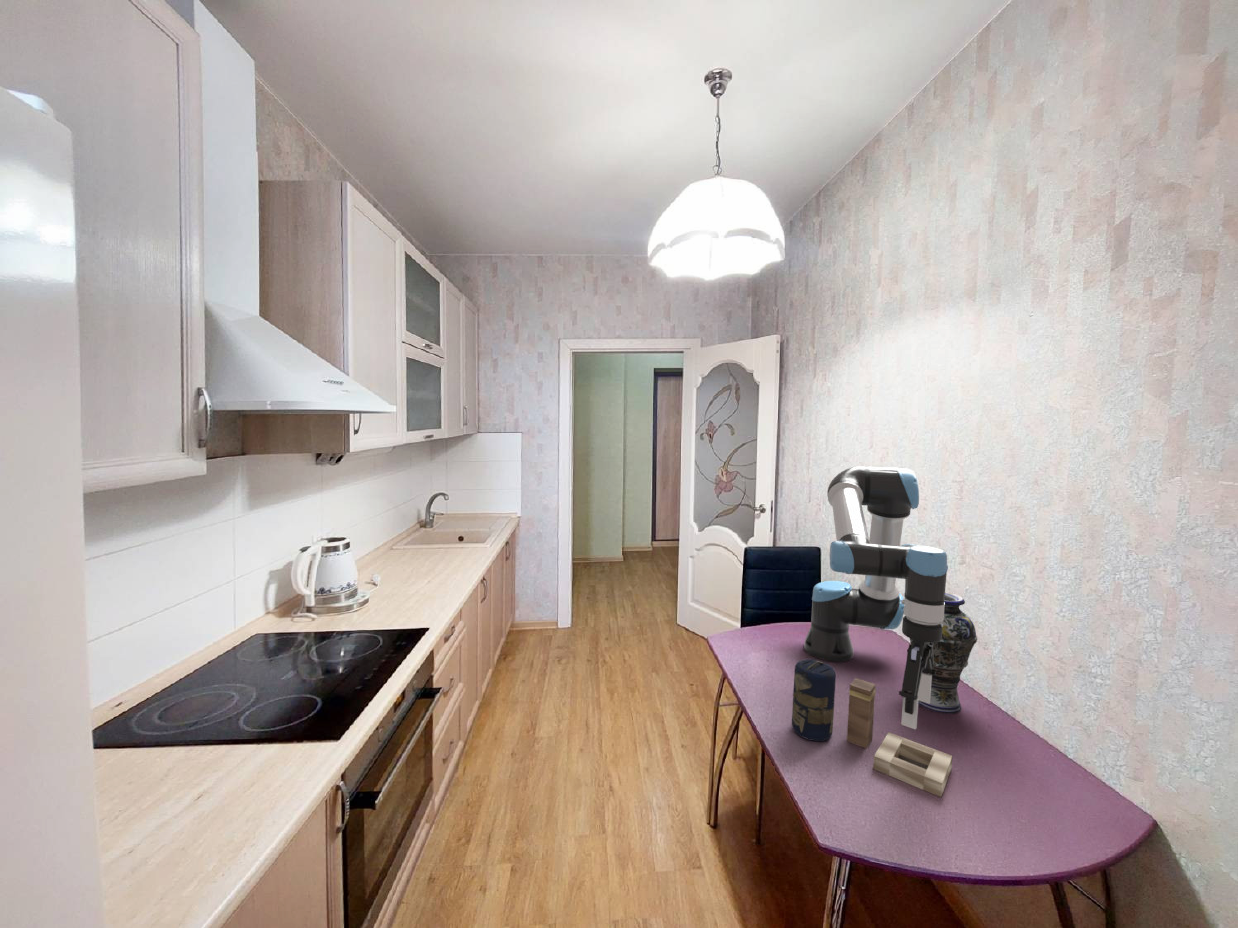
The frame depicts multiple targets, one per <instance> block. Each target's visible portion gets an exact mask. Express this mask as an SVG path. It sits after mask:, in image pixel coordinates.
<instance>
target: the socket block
mask: <svg viewBox="0 0 1238 928" xmlns="http://www.w3.org/2000/svg"><path fill="white" fill-rule="evenodd" d="M952 765H953V755H951V754H948V753H945V752H943V751H940V750H937V749H934V748H932V747H929V746H927V745H923V744H922V743H919V742H916V741H913V740H910V739H908V738H905V737H902V736H901V735H897V734H894V733H891V732H887V734H886V736H885V737H884V739H883V740H882V742H881V744H880V746H879V747H878V749H877V750H876V752H875V754H874V755H873V765H872V766H873V767H872V769H873V770H874V771H876V772H877V771H878V772H880V773H882V774H884V775H887V776H888V777H889V776H890V777H892V778H893V779H896V780H899V781H901V782H904V783H906V784H908V785H910V786H913V787H915V788H918V789H920V790H922V791H925V792H928V793H930V794H931V795H932V794H933V795H935V796H937V797H940V798H942V796H943V794H944V791H945V787H946V785H947V782H948V780H949V776H950V774H951V771H952V769H953V768H952Z"/></svg>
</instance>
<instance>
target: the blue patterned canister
mask: <svg viewBox="0 0 1238 928" xmlns="http://www.w3.org/2000/svg"><path fill="white" fill-rule="evenodd" d="M836 673H837V672H836V670H835V668H833V666H831V665H829V664H828V663H826V662H824V661H821V660H817V659H808V658H807V659H800V660H799V661H797V662H796V664H795V665H794V674H793V675H794V676H793V691H792V711H791V727H792V729H793V731H794V732H795V734H798V736H800V737H802V738H804V739H805V740H809V741H814V742H823V741H827V740H829V739H830V738H832V737H831V736H832V735H833V729H834V716H835V715H834V711H835V698H836V695H835V693H836V682H837V674H836Z"/></svg>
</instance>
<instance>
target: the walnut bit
mask: <svg viewBox="0 0 1238 928" xmlns="http://www.w3.org/2000/svg"><path fill="white" fill-rule="evenodd" d="M876 685H877V684H875V683H872V682H869V681H867V680H863V679H861V678H857V677H856V678H855V679H853V680H852V682H851V683H850V684H849V692H848V695H849V696H848V712H847V713H848V714H847V729H846V730H847V731H846V742H849V743H851V744H853V745H856V746H858V747H861V748H863V747H864V748H863V749H868V748H869V746H870V744H871V743H872V742H873V732H874V717H875V715H874V714H875V700H876V691H877V689H876Z"/></svg>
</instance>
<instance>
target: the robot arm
mask: <svg viewBox="0 0 1238 928" xmlns="http://www.w3.org/2000/svg"><path fill="white" fill-rule="evenodd" d="M827 502H828V503H829V505H830V506H831V507H832V513H833V521H834V529H835V530H834V531H835V537H836V538H835V539H836V540H834V541H832V542H830V545H829V567H830V570H832V571H833V572H836V573H841V574H842V573H843V574H846V575H860V576H865V578H864V580H862V581H861V582H859V586H858V588H853V587H852V585H851V584H850V583H849V582H846V581H841V580H826V581H822V582H818V583H816V584H815V585H814V586H813V589H812V597H811V600H812V601H811V602H812V603H811V605H812V606H811V620H810V621H811V623H810V628H809V630H808V633H807V635H806V637H805V640H804V650H805V652H806V653H807V654H809V655H811V656H812V657H814V658H816V659H820V660H823V661H829V662H835V663H836V662H837V663H840V662H843V663H844V662H848V661H850V660H852V659H853V658H854V647H853V643H852V640H851V637H850V633H849V629H850V626H859V627H864V628H865V627H867V628H875V629H880V630H896V629H898V628H899V627H900V625H901V624H902V627H901V631H902V634H903V635H904V636H905V637H906V638H908V639H909V640H910V639H912V643H909V645H908V647H907V650H906V652H907V654H906V661H905V667H904V674H903V680H902V686H901V691H900V690H899V691H898V695H899V696H901V697H902V708H901V709H902V710H901V721H900V722H901V725H902V726H905V727H907V728H909V729H913V730H917V727H918V726H917V725H918V713H919V705H918V700H919V701H922V702H925V703H928V704H930V695H931V681H932V675H930V674H934V675H936V670H934V669H932V668H934V666H935V665H934V649H933V643H936V642H939V641H941V639H942V630H943V625H942V623H941V622H943V620H944V606H945V603H944V600H945V592H946V588H947V587H946V585H947V584H946V583H947V574H948V573H947V572H948V570H949V567H948V566H949V565H948V555H947V553H946V552H945V550H943V549H941V548H940V549H939V548H938V547H934V546H933V547H932V546H928V545H927V546H926V545H917V544H914V543H905V544H902V545H901V543H902V542H901V541H902V533H903V527H904V526H903V525H904V520H905V519H906V518H908V517H910V515H911V511H912V510H916V509H918V508H919V505H920V490H919V483H918V479H917V476H916V473H915V472H914V471H913V470H911V469H909V468H899V467H879V466H878V467H876V466H858V465H857V466H853V467H849V468H847V469H844V470H843V471H840V472H839V473H838V474H837V475H836V476H834V478H833V479H832V480H831V481H830V483H829V485H828V487H827ZM863 506H866V507H867V508H866V510H867V512H868V513H869V514H870V515H871V520H870V521H871V522H870V531H869V533H868V528H867V524H866V519H865V515H864V510H863ZM897 579H901V580H904V581H905V582H904V596H903V595H902V594H901V593H900V590H899V588H898V587H897V586H896V580H897Z"/></svg>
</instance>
